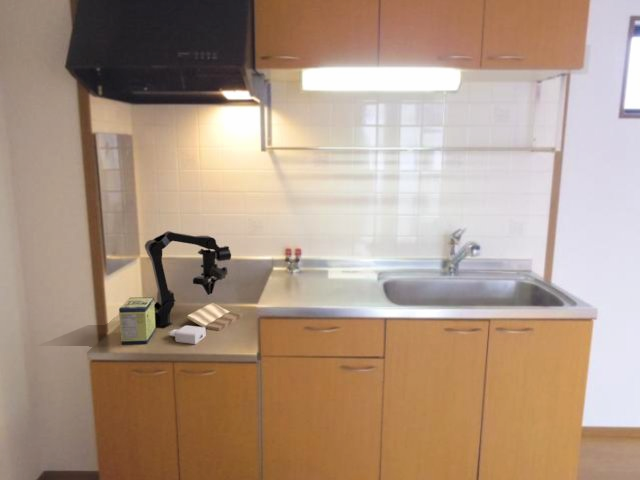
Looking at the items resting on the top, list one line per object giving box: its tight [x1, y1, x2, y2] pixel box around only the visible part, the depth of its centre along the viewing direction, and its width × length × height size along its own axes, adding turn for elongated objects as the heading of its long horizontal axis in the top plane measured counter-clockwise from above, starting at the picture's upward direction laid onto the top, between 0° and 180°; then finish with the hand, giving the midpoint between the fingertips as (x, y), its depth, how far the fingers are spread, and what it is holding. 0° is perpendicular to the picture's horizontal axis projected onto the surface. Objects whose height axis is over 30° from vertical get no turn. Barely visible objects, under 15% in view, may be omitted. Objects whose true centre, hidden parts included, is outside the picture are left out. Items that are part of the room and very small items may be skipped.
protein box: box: [118, 296, 156, 345], centre depth 196 cm, size 10×16×16 cm
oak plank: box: [186, 302, 230, 328], centre depth 218 cm, size 20×10×2 cm, turn 160°
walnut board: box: [206, 311, 243, 332], centre depth 216 cm, size 20×7×2 cm, turn 160°
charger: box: [167, 325, 207, 345], centre depth 196 cm, size 5×9×15 cm
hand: (209, 294), depth 222 cm, fingers closed
